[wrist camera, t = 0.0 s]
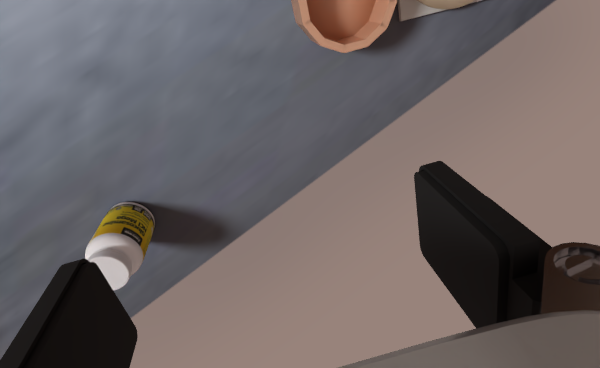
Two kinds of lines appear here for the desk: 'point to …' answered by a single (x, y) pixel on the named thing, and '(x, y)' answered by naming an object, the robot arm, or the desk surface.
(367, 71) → the desk surface
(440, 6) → the lid
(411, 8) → the mat
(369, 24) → the bowl
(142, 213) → the pill bottle
